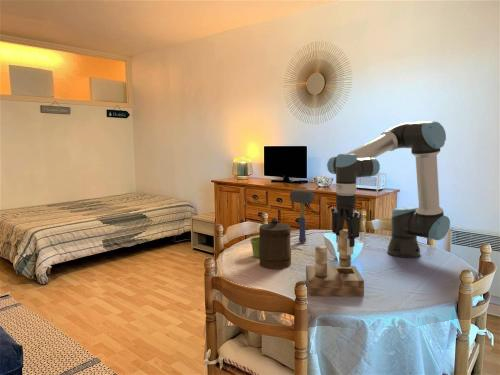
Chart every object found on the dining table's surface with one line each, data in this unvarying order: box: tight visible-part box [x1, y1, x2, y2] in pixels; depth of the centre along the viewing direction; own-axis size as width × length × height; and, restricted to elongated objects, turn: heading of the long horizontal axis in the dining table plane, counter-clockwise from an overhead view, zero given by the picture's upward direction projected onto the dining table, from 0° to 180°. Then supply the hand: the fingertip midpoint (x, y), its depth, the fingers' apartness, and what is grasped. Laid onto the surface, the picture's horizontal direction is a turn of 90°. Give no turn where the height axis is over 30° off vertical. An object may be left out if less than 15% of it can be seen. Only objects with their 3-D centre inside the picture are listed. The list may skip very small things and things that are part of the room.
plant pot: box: [249, 236, 260, 259], centre depth 188 cm, size 9×9×9 cm
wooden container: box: [258, 217, 292, 270], centre depth 175 cm, size 15×15×22 cm
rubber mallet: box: [289, 189, 315, 244], centre depth 208 cm, size 12×8×30 cm, turn 53°
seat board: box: [305, 245, 365, 297], centre depth 145 cm, size 20×16×17 cm
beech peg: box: [338, 228, 352, 267], centre depth 146 cm, size 5×5×14 cm
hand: (345, 252), depth 146 cm, fingers closed on beech peg, 4 cm apart
